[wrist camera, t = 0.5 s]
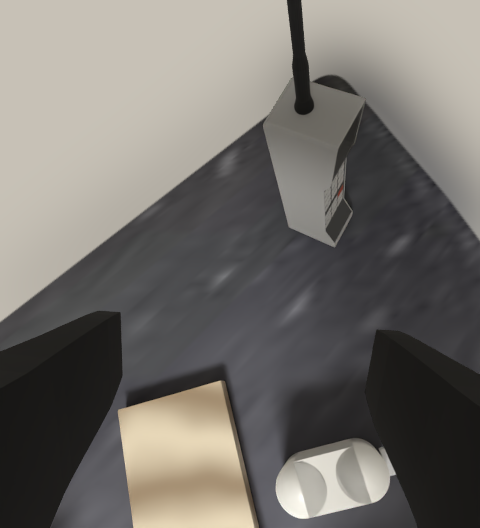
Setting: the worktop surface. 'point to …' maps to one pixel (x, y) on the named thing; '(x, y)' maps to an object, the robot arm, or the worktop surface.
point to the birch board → (186, 462)
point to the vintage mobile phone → (312, 145)
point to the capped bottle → (333, 478)
